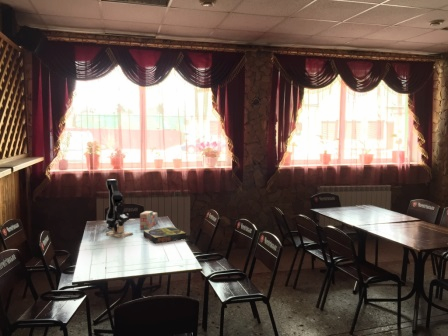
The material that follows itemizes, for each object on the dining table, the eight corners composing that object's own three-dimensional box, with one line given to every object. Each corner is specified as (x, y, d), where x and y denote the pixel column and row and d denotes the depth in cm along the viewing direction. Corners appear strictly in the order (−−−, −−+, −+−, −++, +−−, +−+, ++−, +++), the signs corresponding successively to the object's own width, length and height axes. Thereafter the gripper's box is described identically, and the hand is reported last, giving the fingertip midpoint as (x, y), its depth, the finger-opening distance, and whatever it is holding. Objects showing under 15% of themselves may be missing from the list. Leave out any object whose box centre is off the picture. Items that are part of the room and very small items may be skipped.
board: (105, 234, 307) (105, 232, 307) (115, 231, 316) (115, 229, 316) (123, 237, 298) (123, 235, 298) (132, 234, 307) (132, 232, 307)
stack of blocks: (151, 222, 347) (150, 208, 346) (157, 223, 345) (157, 209, 344) (140, 228, 326) (139, 213, 325) (147, 229, 325) (146, 214, 324)
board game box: (186, 239, 294) (185, 232, 293) (155, 244, 282) (155, 237, 281) (172, 232, 314) (172, 226, 313) (143, 237, 302) (143, 230, 301)
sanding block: (112, 232, 307) (112, 226, 307) (117, 231, 311) (116, 224, 311) (119, 233, 304) (119, 227, 303) (123, 232, 307) (123, 225, 307)
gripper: (116, 214, 294) (117, 235, 295) (134, 209, 310) (134, 229, 311) (105, 212, 299) (106, 233, 301) (123, 208, 315) (124, 228, 317)
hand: (118, 231), depth 307 cm, fingers closed on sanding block, 4 cm apart
